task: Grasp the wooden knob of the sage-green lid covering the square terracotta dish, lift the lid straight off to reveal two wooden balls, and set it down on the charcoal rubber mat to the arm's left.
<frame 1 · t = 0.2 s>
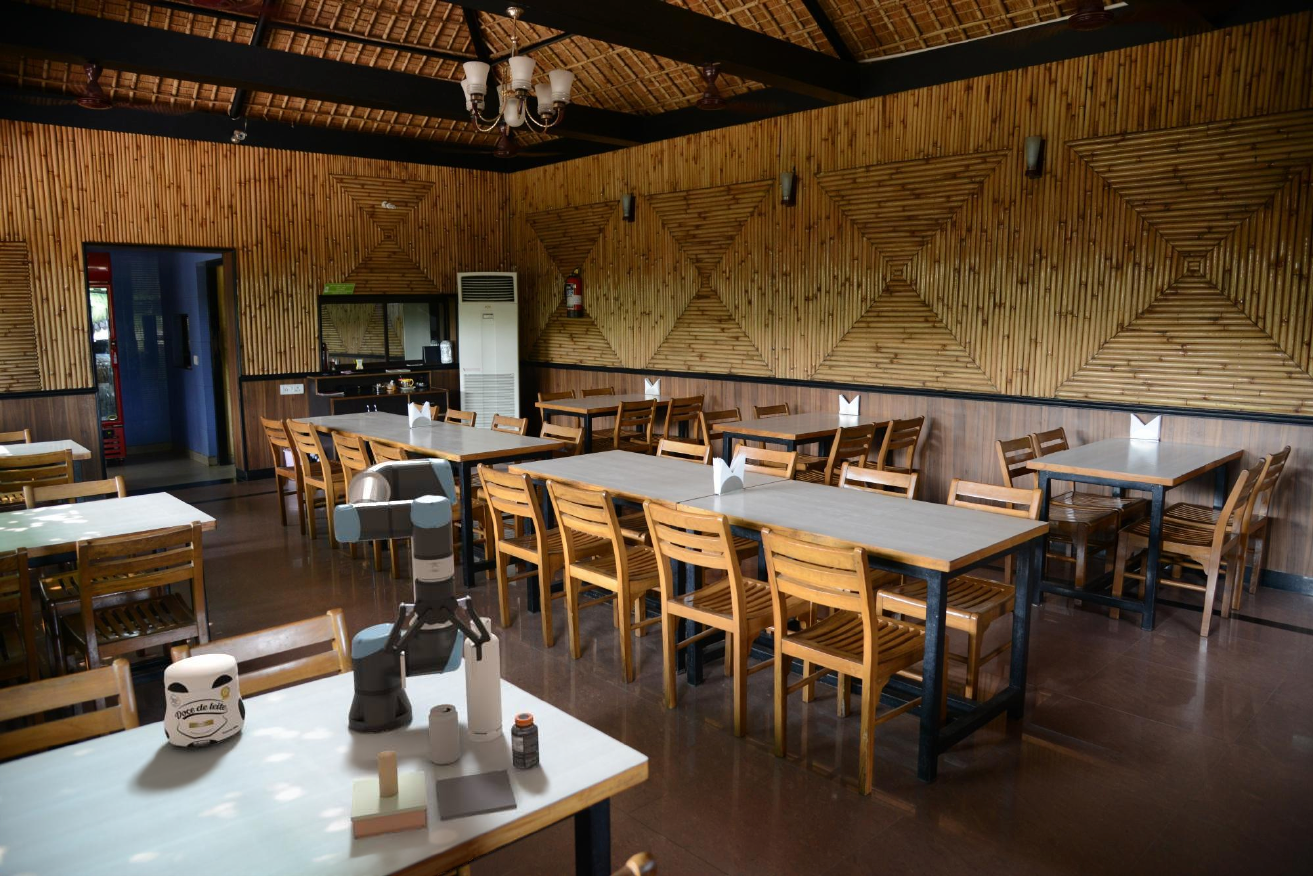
hand: (439, 681, 174), 28 cm above the table, fingers open, 13 cm apart
ball beech: (381, 802, 178), point 2 cm above the table, touching dish
lid: (389, 796, 176), point 4 cm above the table, touching dish
mat: (475, 794, 184), on the table
beverage can: (445, 760, 199), on the table
dish: (390, 815, 177), on the table
doce de leite tub: (207, 738, 212), on the table
pill bottle: (526, 765, 197), on the table
bottle: (485, 734, 212), on the table
ball walnut: (399, 808, 175), point 2 cm above the table, touching dish
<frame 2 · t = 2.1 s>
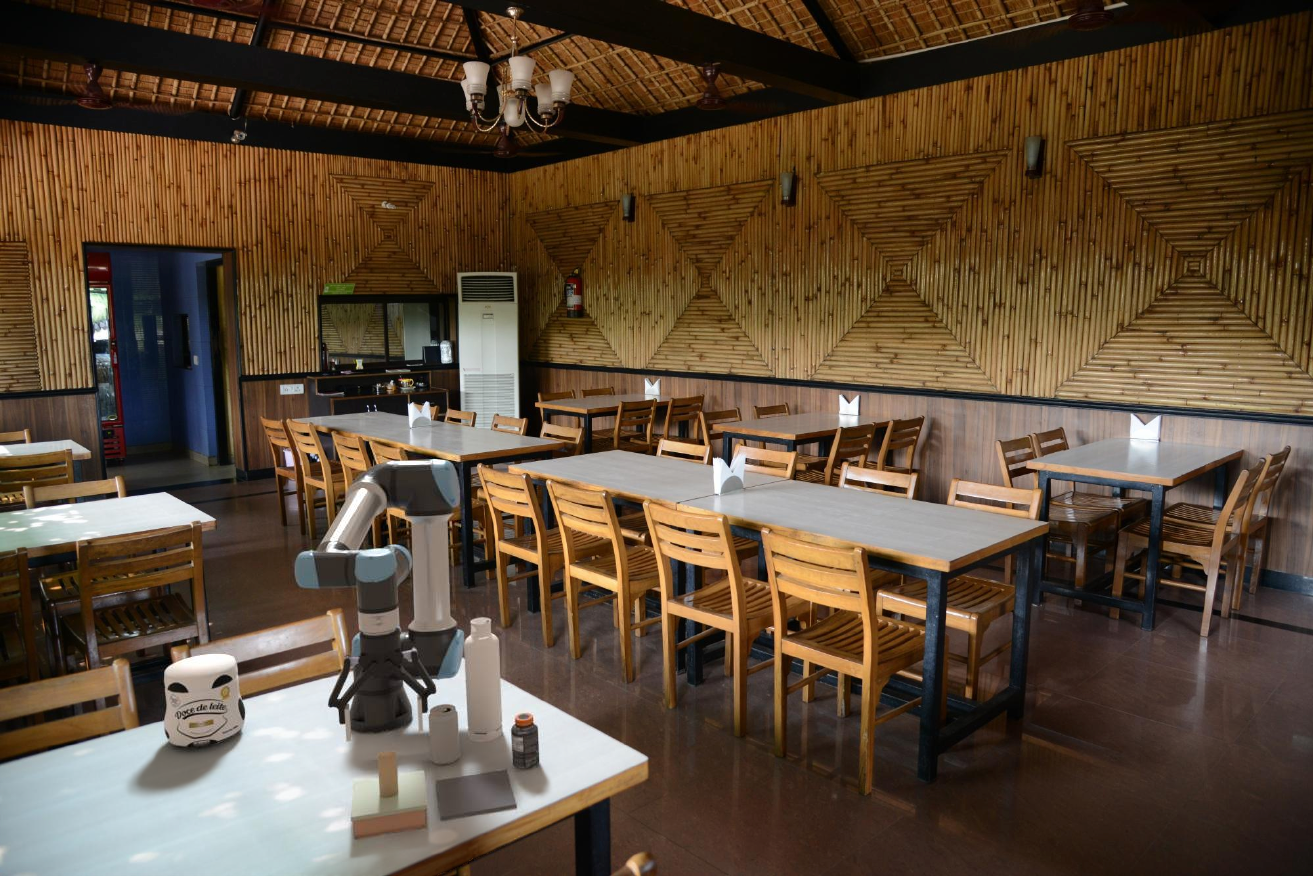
hand: (385, 733, 174), 17 cm above the table, fingers open, 13 cm apart
nothing on the table moved.
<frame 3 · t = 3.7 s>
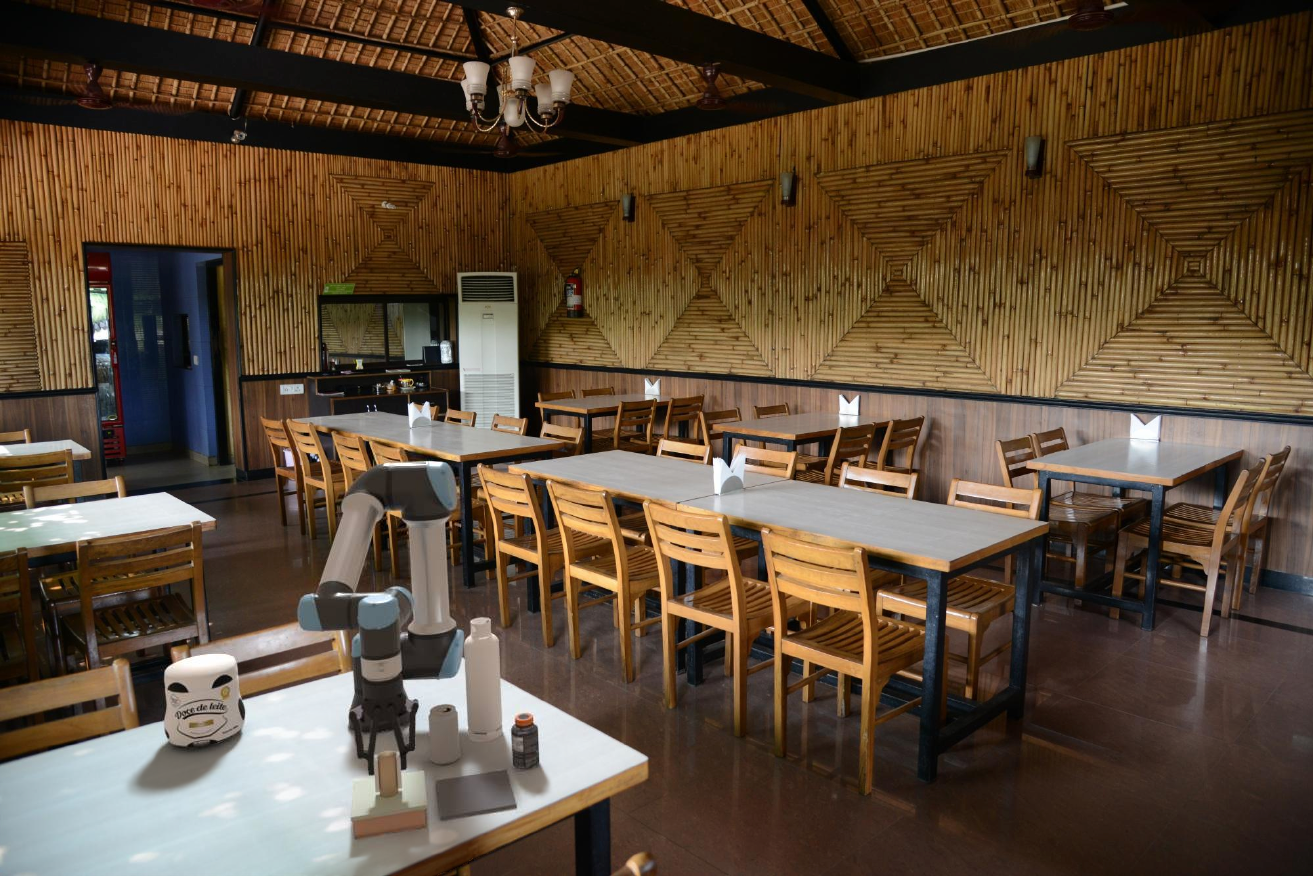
hand: (388, 786, 176), 6 cm above the table, fingers closed on lid, 4 cm apart
lid: (389, 796, 176), point 4 cm above the table, touching dish, gripper
everything else where it was.
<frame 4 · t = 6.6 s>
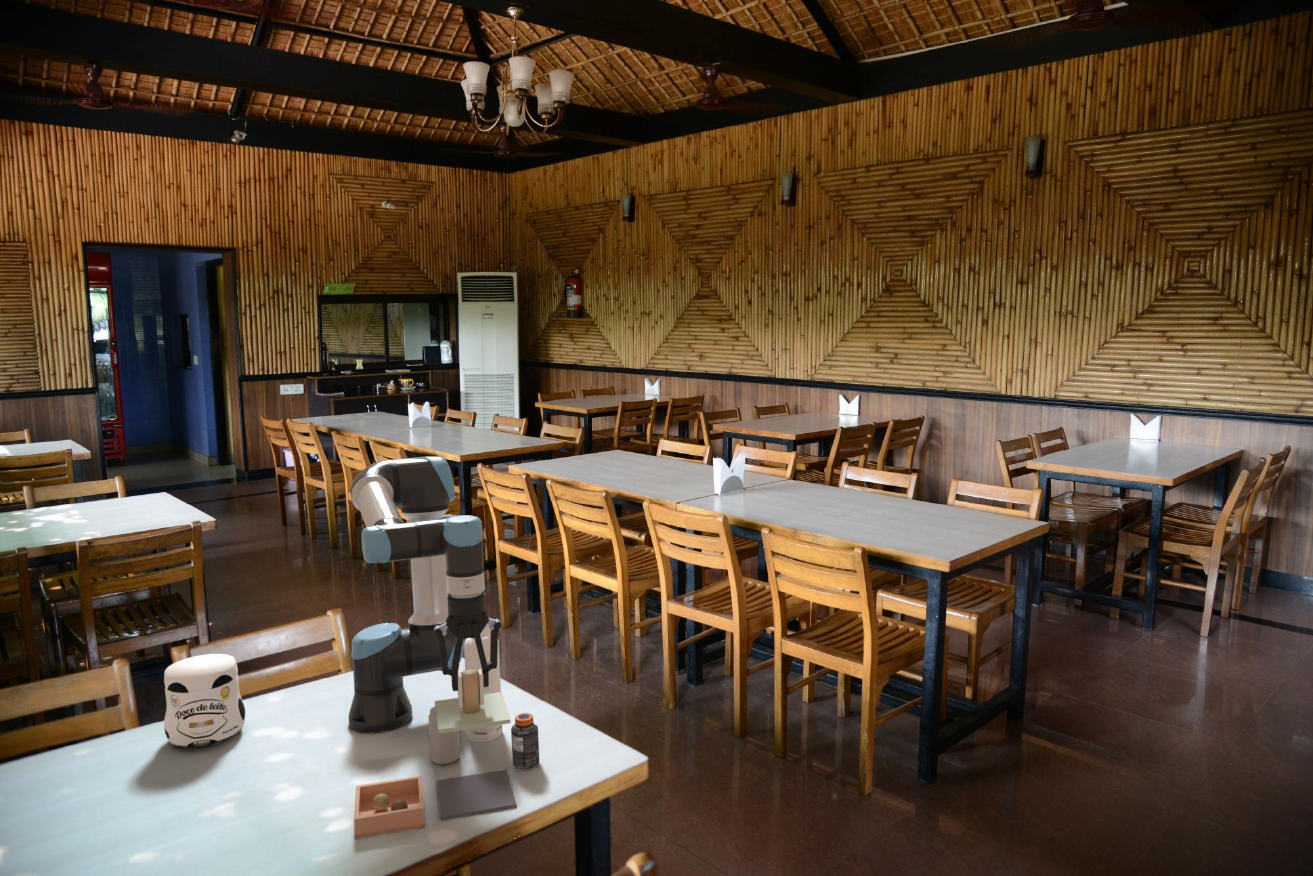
hand: (471, 703, 182), 20 cm above the table, fingers closed on lid, 4 cm apart
lid: (471, 713, 182), point 18 cm above the table, touching gripper
everything else where it was.
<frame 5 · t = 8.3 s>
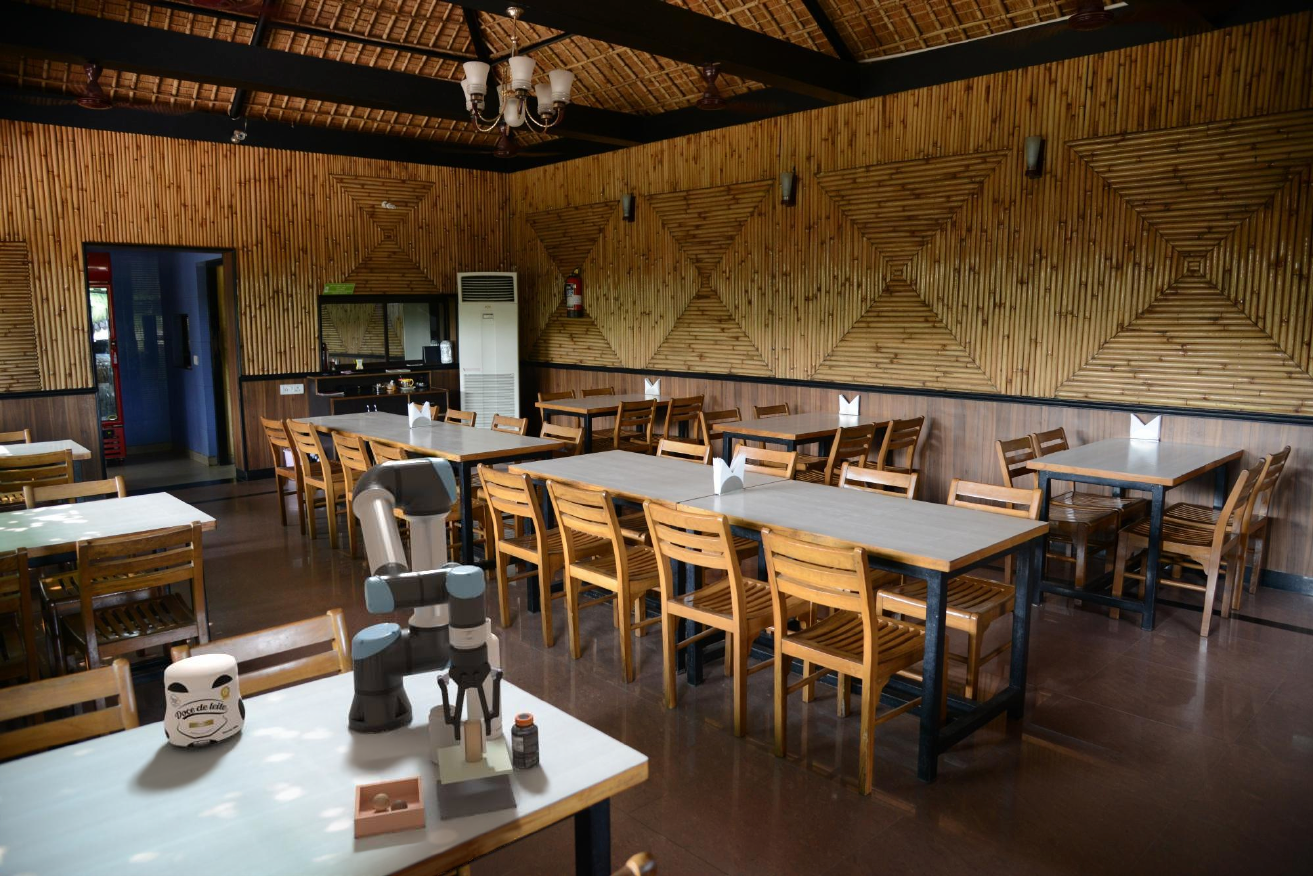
hand: (473, 751, 183), 10 cm above the table, fingers closed on lid, 4 cm apart
lid: (474, 762, 183), point 7 cm above the table, touching gripper
everything else where it was.
when the fingers open (4 cm above the table, at t = 9.6 s): lid drops 1 cm, resting on mat.
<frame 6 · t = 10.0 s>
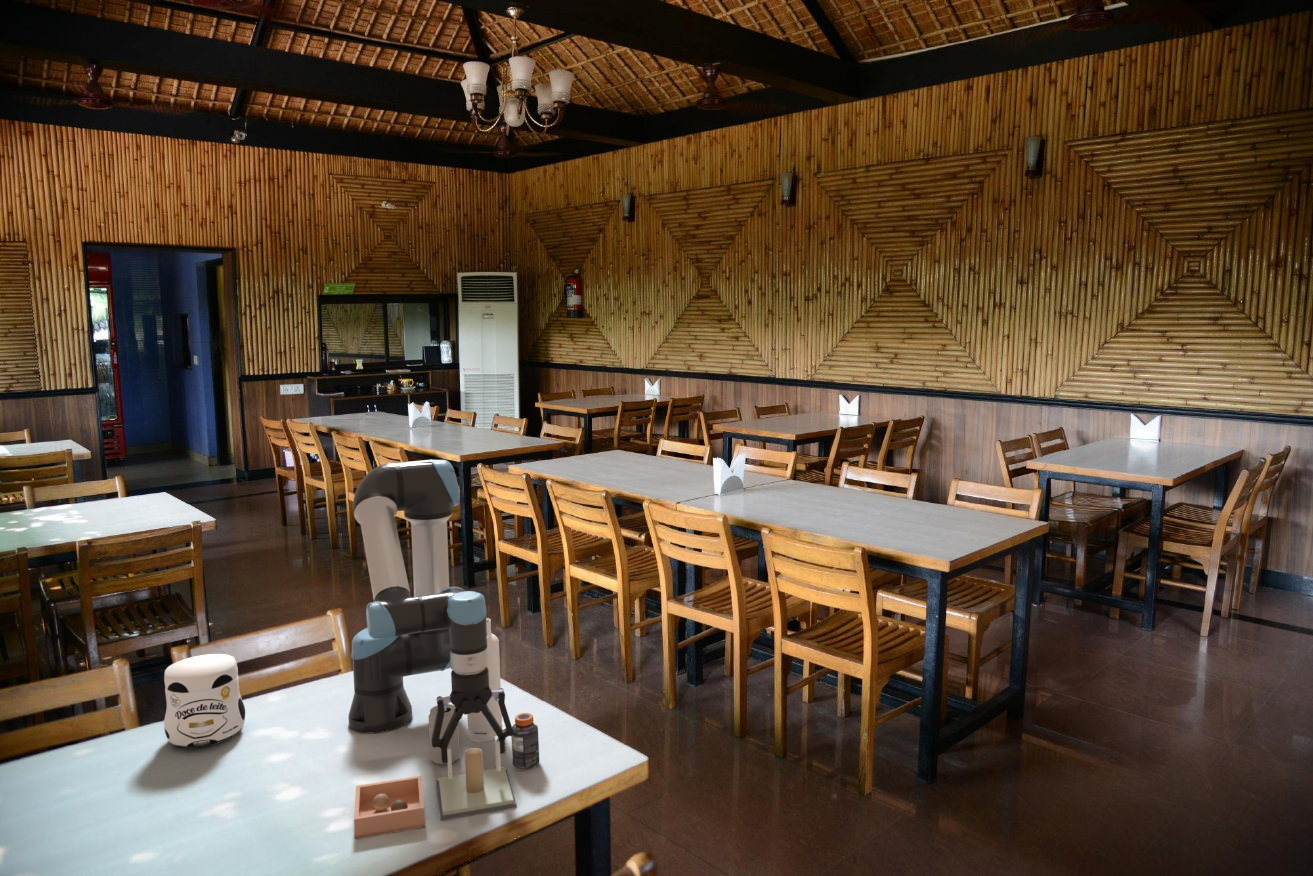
hand: (474, 772, 184), 5 cm above the table, fingers open, 9 cm apart
lid: (475, 792, 184), point 1 cm above the table, touching mat
everything else where it was.
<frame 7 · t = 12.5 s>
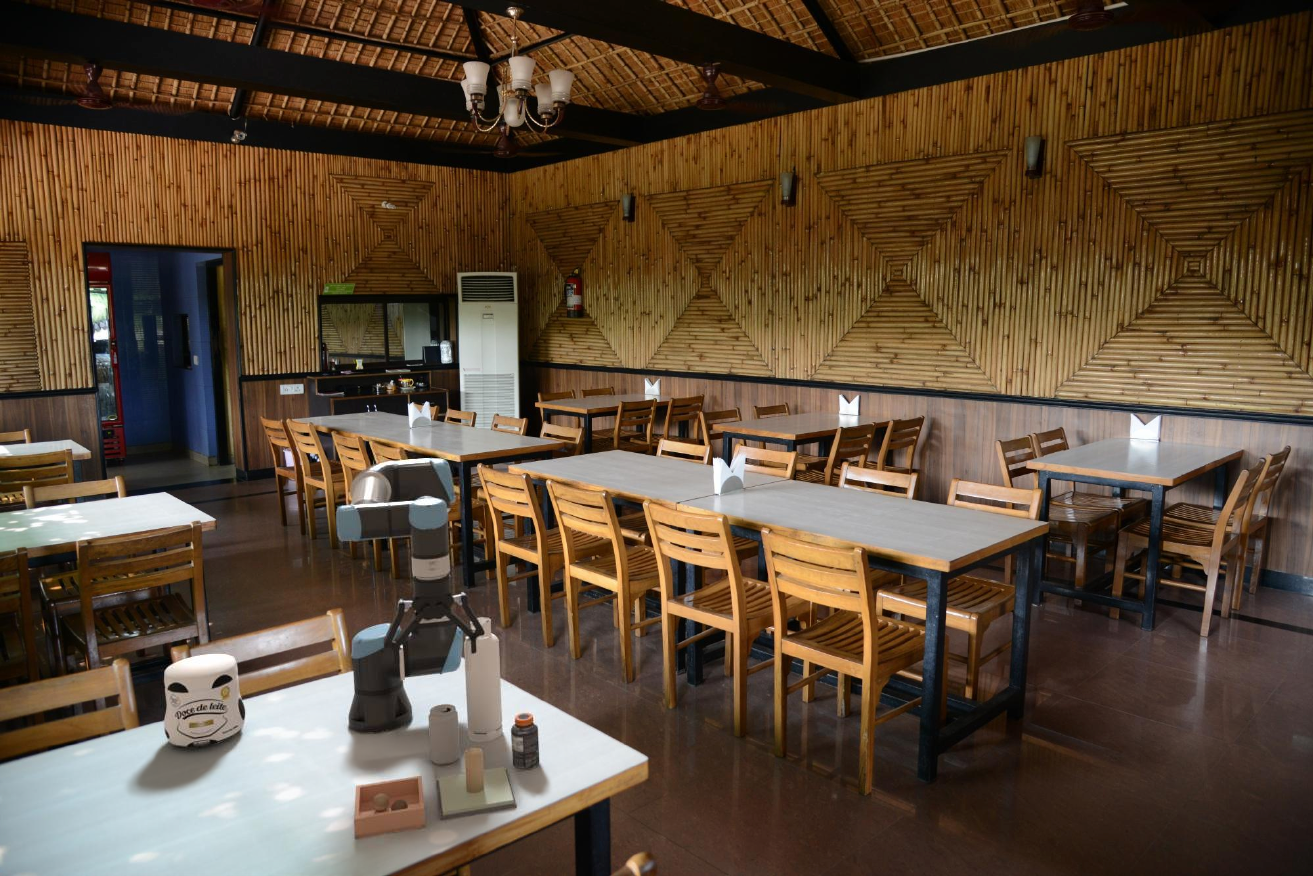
hand: (436, 673, 184), 25 cm above the table, fingers open, 13 cm apart
nothing on the table moved.
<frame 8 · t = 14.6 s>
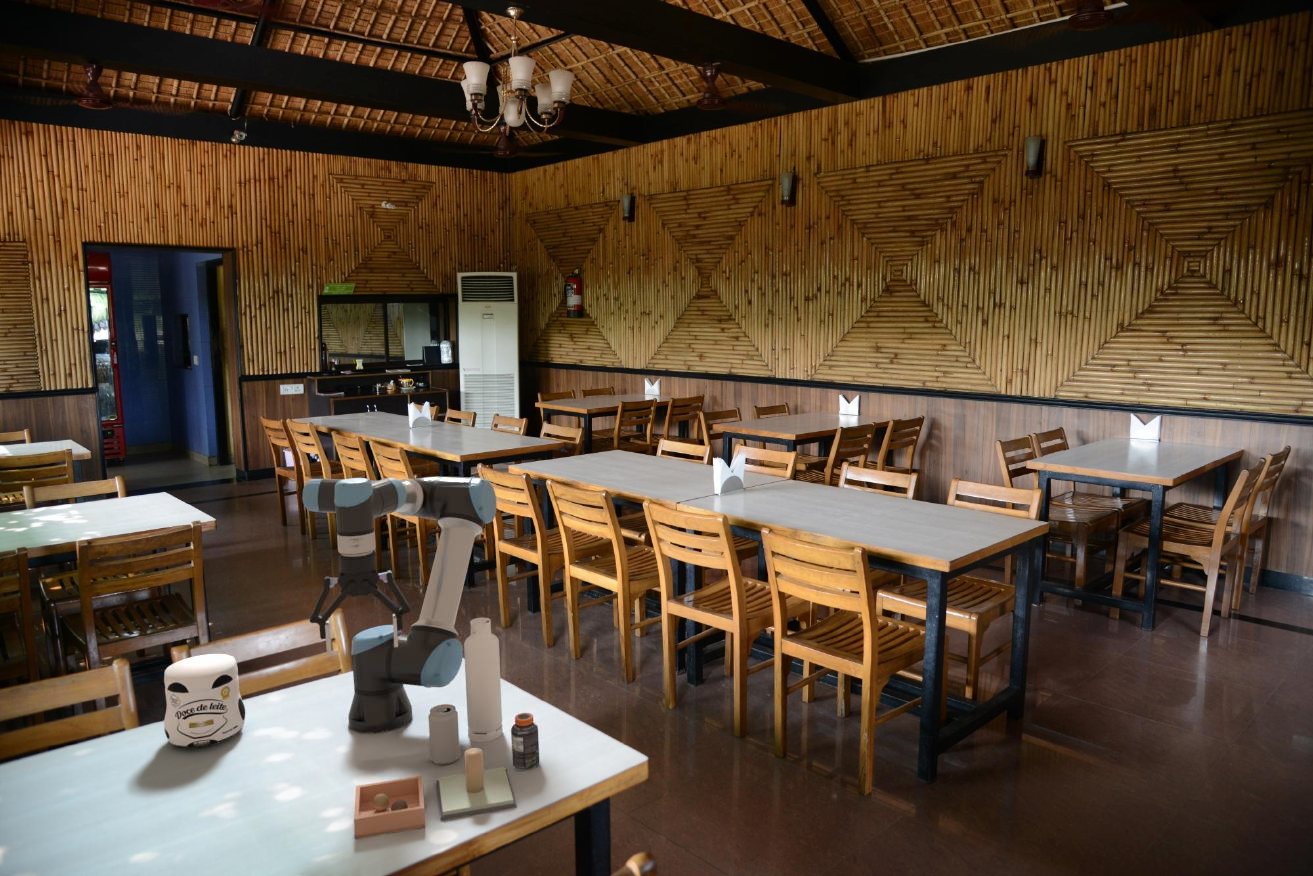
hand: (363, 649, 189), 29 cm above the table, fingers open, 13 cm apart
nothing on the table moved.
at the end: lid inside the target area on the mat (0.0 cm from its centre), point 0.6 cm above the mat's base; lid tilted 0°; lid touching mat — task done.
